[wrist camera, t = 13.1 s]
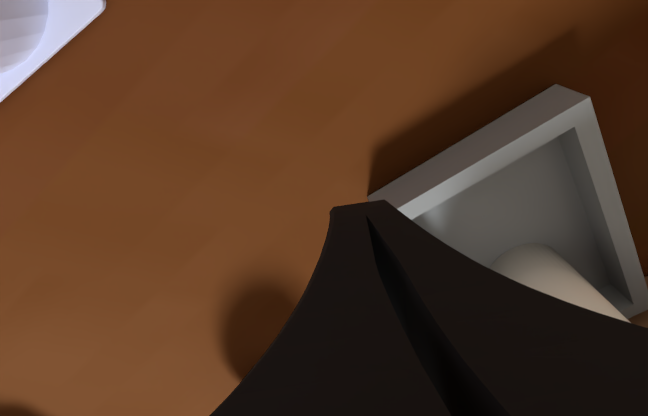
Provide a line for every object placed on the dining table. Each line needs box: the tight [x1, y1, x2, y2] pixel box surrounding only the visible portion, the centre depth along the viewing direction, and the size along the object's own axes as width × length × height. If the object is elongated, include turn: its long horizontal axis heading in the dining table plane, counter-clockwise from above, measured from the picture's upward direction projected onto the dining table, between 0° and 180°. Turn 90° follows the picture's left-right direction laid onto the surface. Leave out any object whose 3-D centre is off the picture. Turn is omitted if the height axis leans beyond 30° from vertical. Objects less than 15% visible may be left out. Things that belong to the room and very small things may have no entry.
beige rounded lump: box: [490, 243, 631, 323], centre depth 20 cm, size 4×4×6 cm
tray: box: [367, 84, 648, 319], centre depth 22 cm, size 14×10×2 cm
